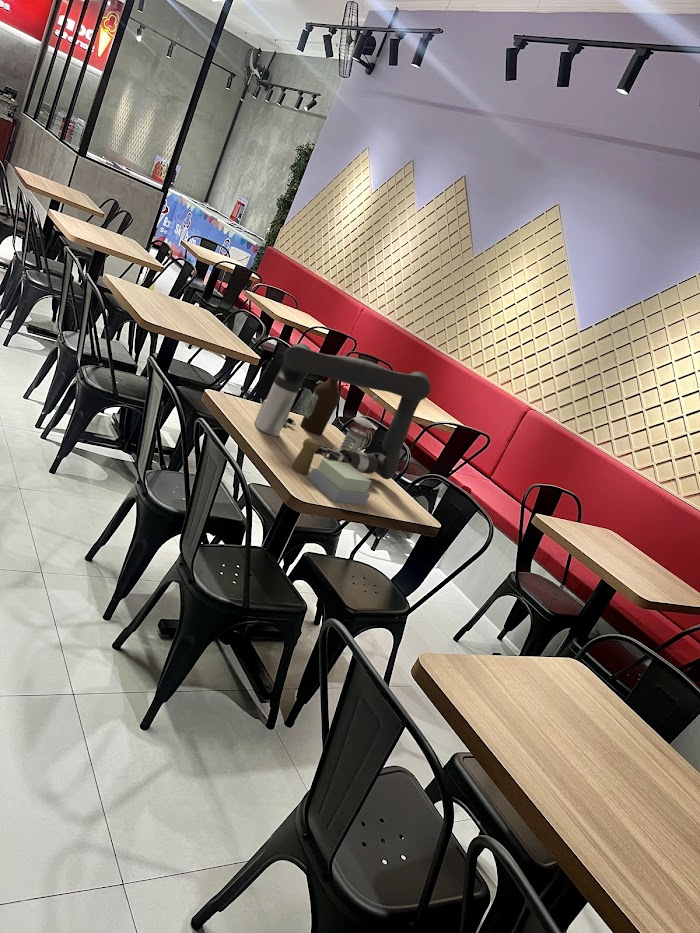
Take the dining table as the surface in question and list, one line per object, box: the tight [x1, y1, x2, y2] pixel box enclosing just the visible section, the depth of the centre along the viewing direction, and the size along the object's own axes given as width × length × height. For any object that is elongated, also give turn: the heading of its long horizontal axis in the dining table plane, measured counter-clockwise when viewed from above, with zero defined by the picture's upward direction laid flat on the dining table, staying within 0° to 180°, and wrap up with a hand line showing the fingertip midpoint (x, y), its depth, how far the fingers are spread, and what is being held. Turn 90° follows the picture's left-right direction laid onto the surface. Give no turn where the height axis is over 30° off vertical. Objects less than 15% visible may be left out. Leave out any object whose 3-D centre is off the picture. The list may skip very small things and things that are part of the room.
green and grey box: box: [307, 458, 372, 506], centre depth 219 cm, size 14×14×8 cm
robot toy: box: [259, 398, 297, 426], centre depth 269 cm, size 12×4×15 cm
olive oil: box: [300, 378, 341, 436], centre depth 274 cm, size 11×11×25 cm
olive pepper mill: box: [290, 437, 320, 476], centre depth 223 cm, size 6×6×11 cm
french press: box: [337, 395, 378, 452], centre depth 266 cm, size 10×12×25 cm
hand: (319, 455), depth 227 cm, fingers open, 8 cm apart
